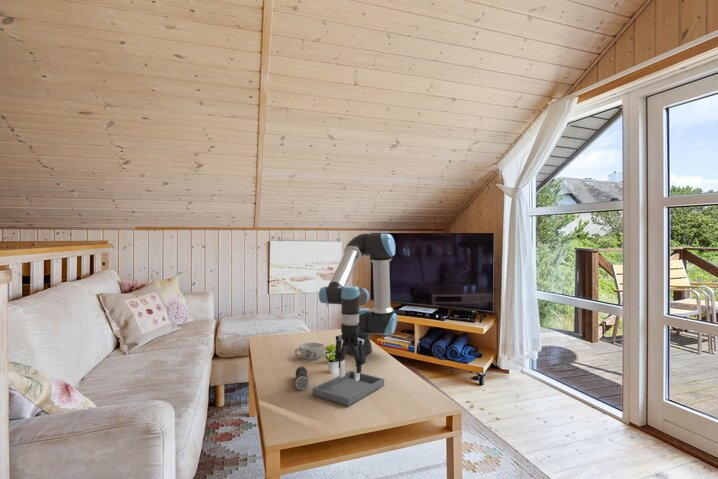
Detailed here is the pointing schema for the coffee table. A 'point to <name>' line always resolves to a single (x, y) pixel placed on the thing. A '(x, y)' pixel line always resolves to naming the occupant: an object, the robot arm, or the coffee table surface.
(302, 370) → the flashlight
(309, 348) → the teacup
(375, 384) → the box
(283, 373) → the coffee table surface
